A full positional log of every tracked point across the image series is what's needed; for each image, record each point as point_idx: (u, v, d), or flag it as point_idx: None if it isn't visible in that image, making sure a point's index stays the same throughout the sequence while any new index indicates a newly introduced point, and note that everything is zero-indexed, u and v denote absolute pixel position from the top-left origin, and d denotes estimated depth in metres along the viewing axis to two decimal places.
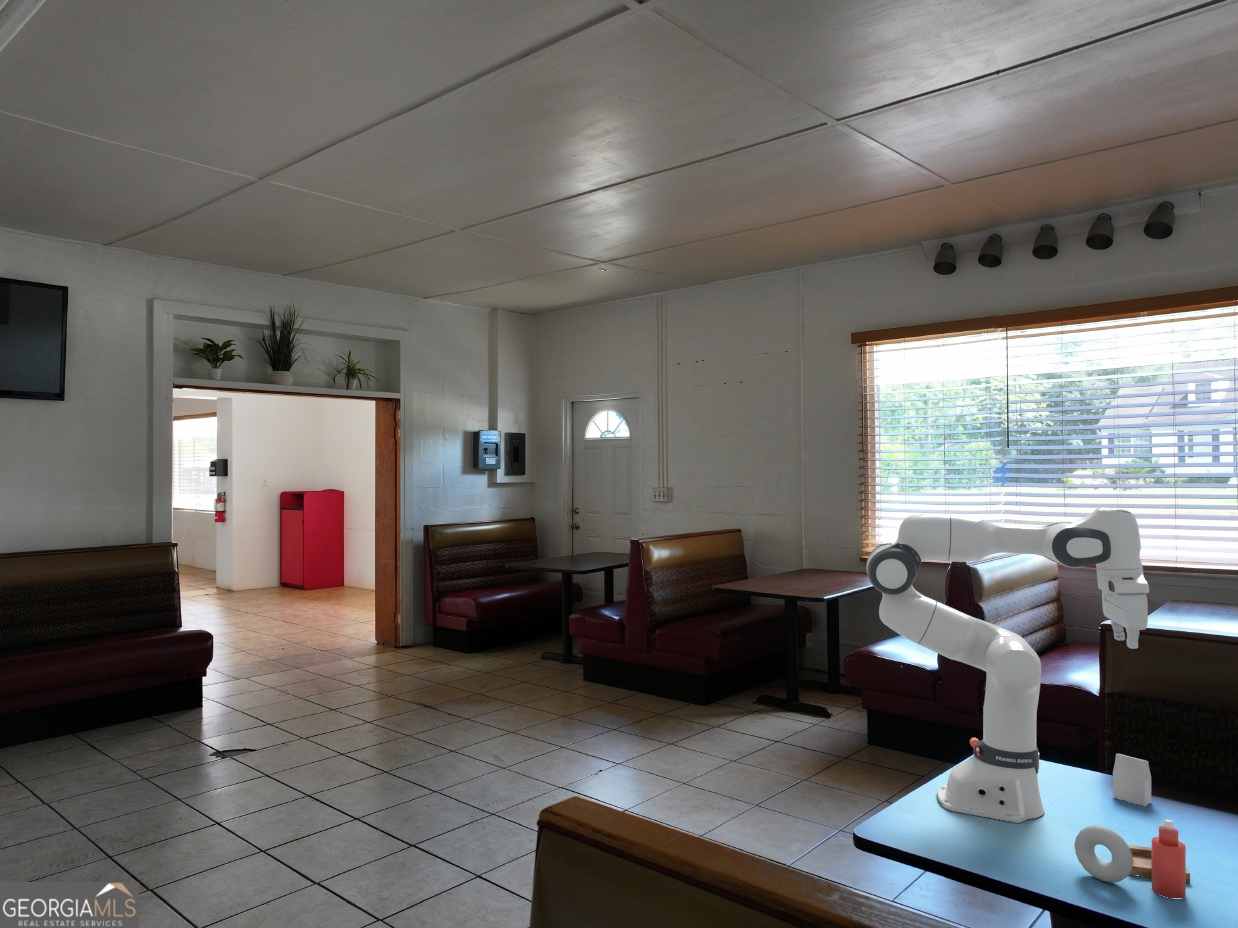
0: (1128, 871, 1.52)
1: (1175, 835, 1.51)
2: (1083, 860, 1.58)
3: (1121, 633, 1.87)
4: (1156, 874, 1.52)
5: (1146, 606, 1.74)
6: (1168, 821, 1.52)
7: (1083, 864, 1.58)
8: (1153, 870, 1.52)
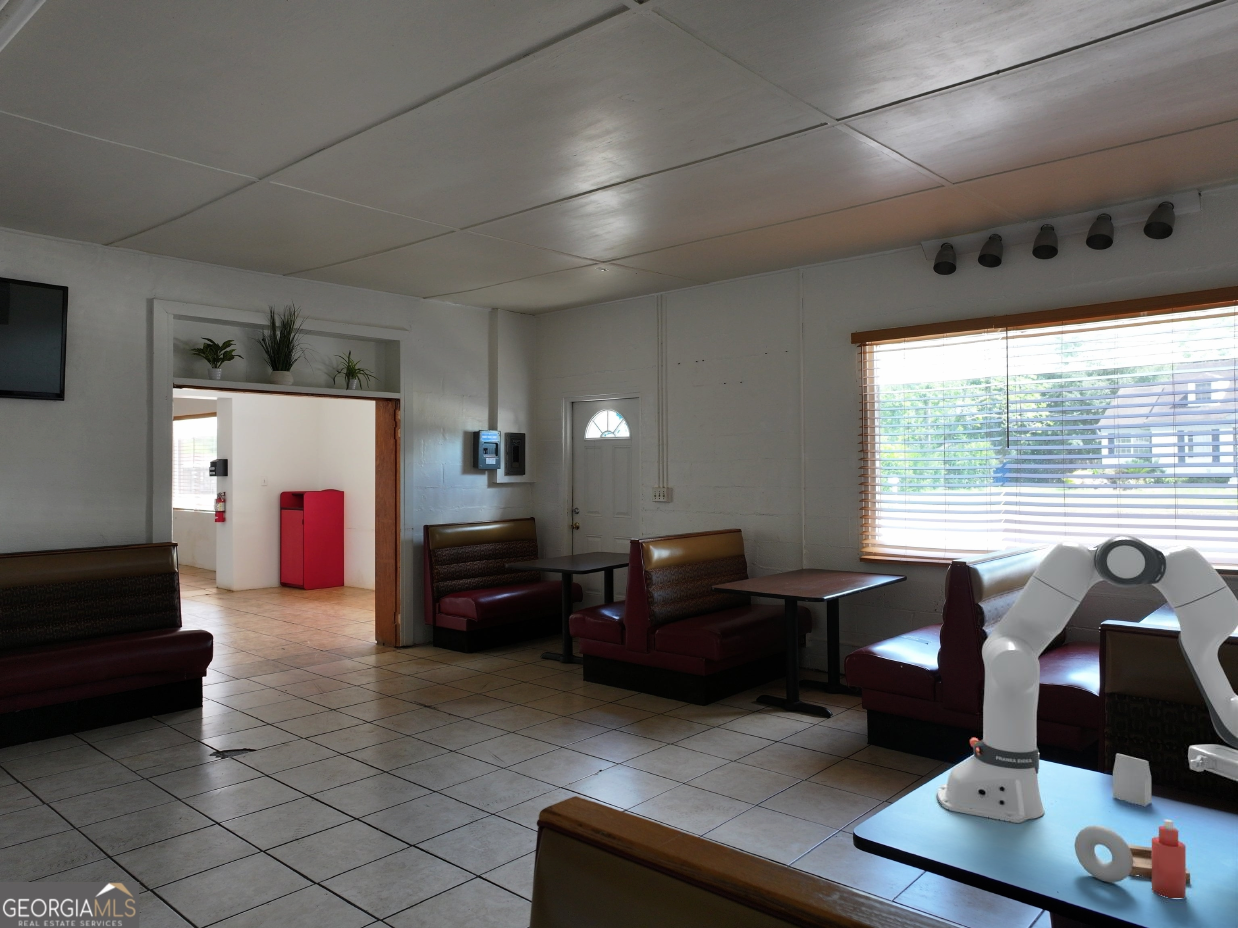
0: (1128, 871, 1.52)
1: (1175, 835, 1.51)
2: (1082, 860, 1.58)
3: (1202, 767, 1.60)
4: (1156, 874, 1.52)
5: None
6: (1168, 821, 1.52)
7: (1083, 864, 1.58)
8: (1153, 870, 1.52)
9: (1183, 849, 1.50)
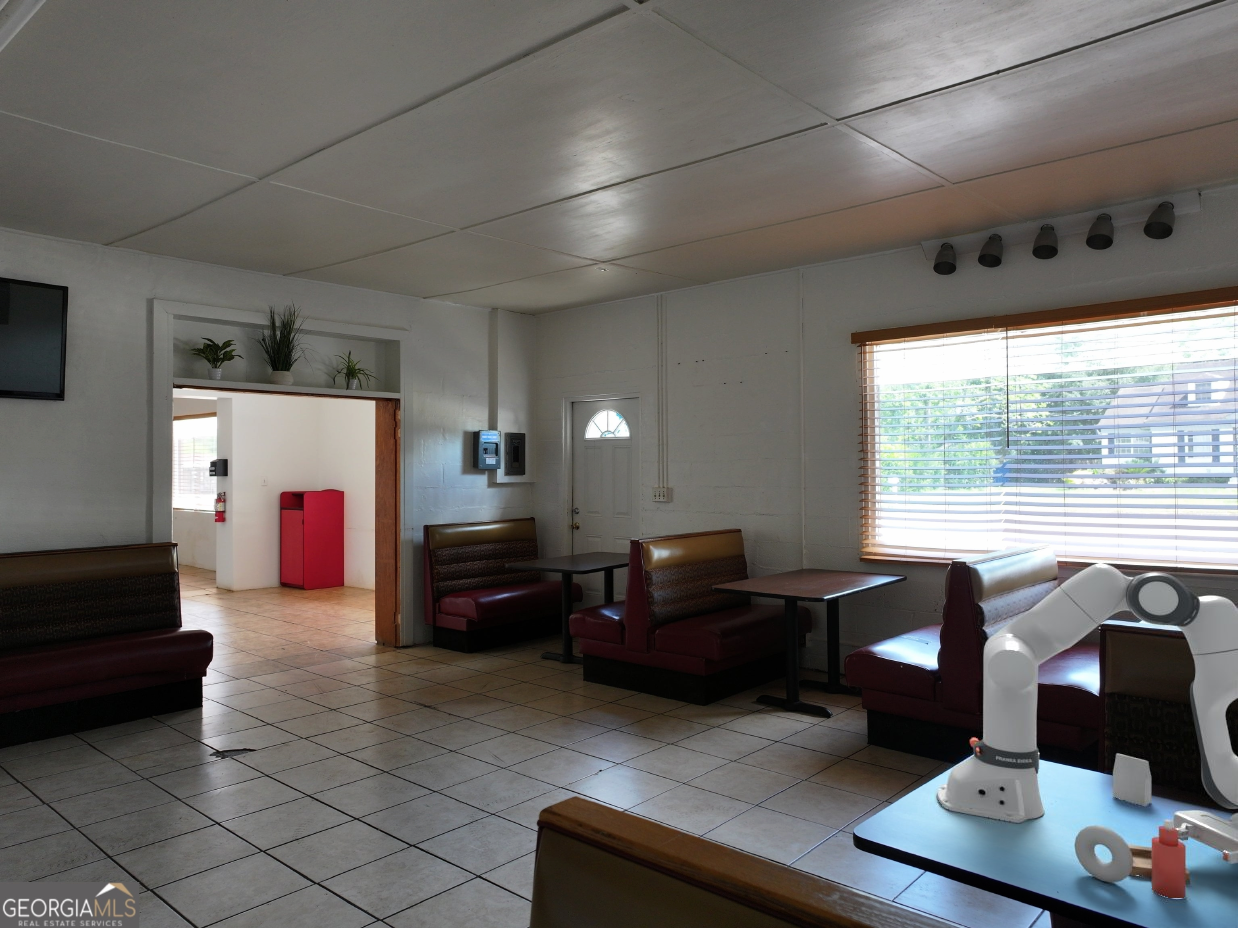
0: (1128, 871, 1.52)
1: (1175, 835, 1.51)
2: (1082, 860, 1.58)
3: (1187, 836, 1.59)
4: (1156, 874, 1.52)
5: None
6: (1168, 821, 1.52)
7: (1083, 864, 1.58)
8: (1153, 870, 1.52)
9: (1183, 849, 1.50)
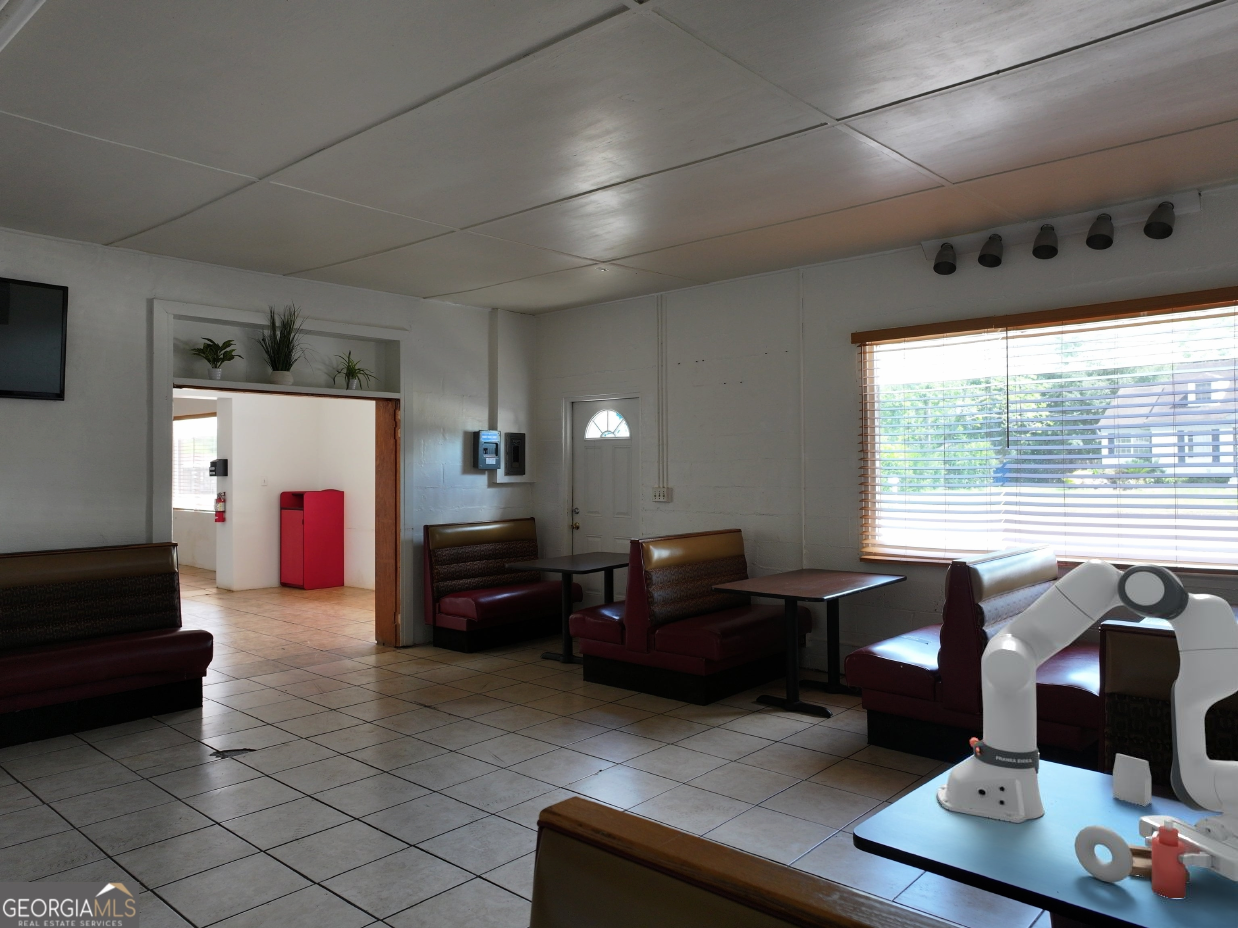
0: (1128, 871, 1.52)
1: (1175, 835, 1.51)
2: (1083, 860, 1.58)
3: None
4: (1156, 874, 1.52)
5: None
6: (1168, 821, 1.52)
7: (1083, 864, 1.58)
8: (1153, 870, 1.52)
9: (1183, 849, 1.50)
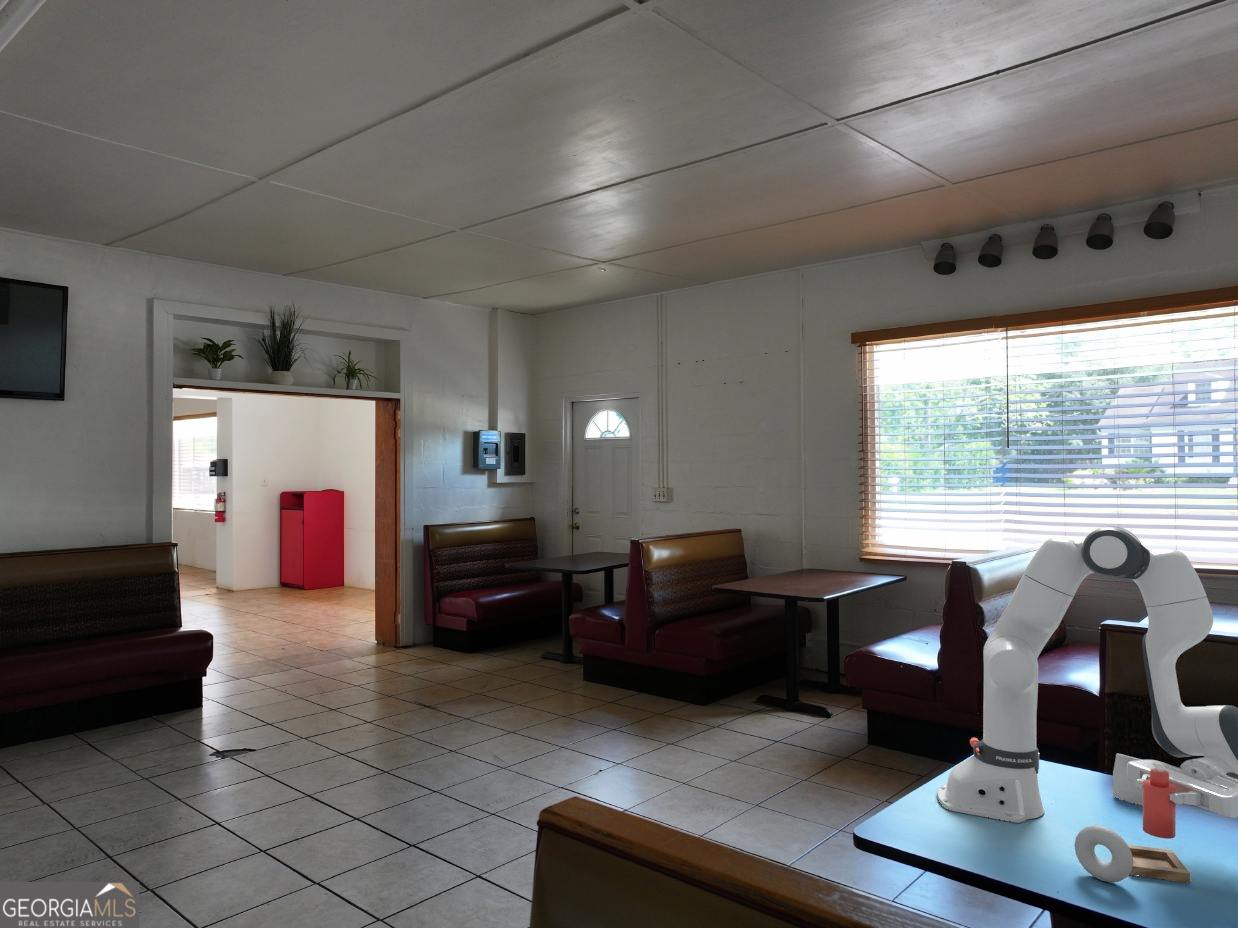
0: (1128, 871, 1.52)
1: (1166, 777, 1.56)
2: (1082, 860, 1.58)
3: None
4: (1148, 815, 1.56)
5: None
6: (1159, 763, 1.57)
7: (1083, 864, 1.58)
8: (1145, 811, 1.57)
9: (1174, 790, 1.55)
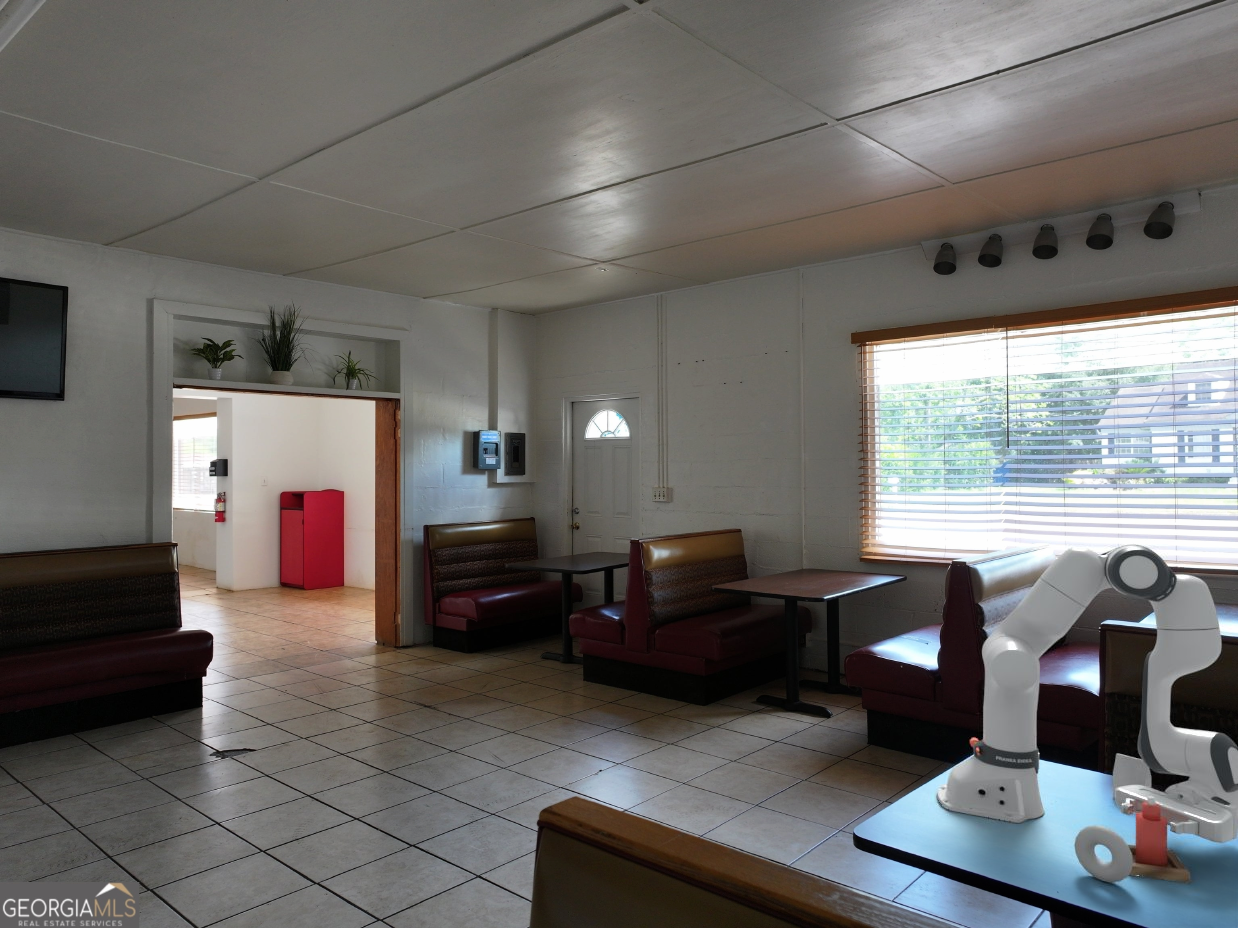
0: (1128, 871, 1.52)
1: (1158, 810, 1.60)
2: (1083, 860, 1.58)
3: (1132, 811, 1.66)
4: (1141, 848, 1.61)
5: (1230, 839, 1.57)
6: (1151, 797, 1.62)
7: (1083, 864, 1.58)
8: (1138, 844, 1.61)
9: (1166, 823, 1.60)
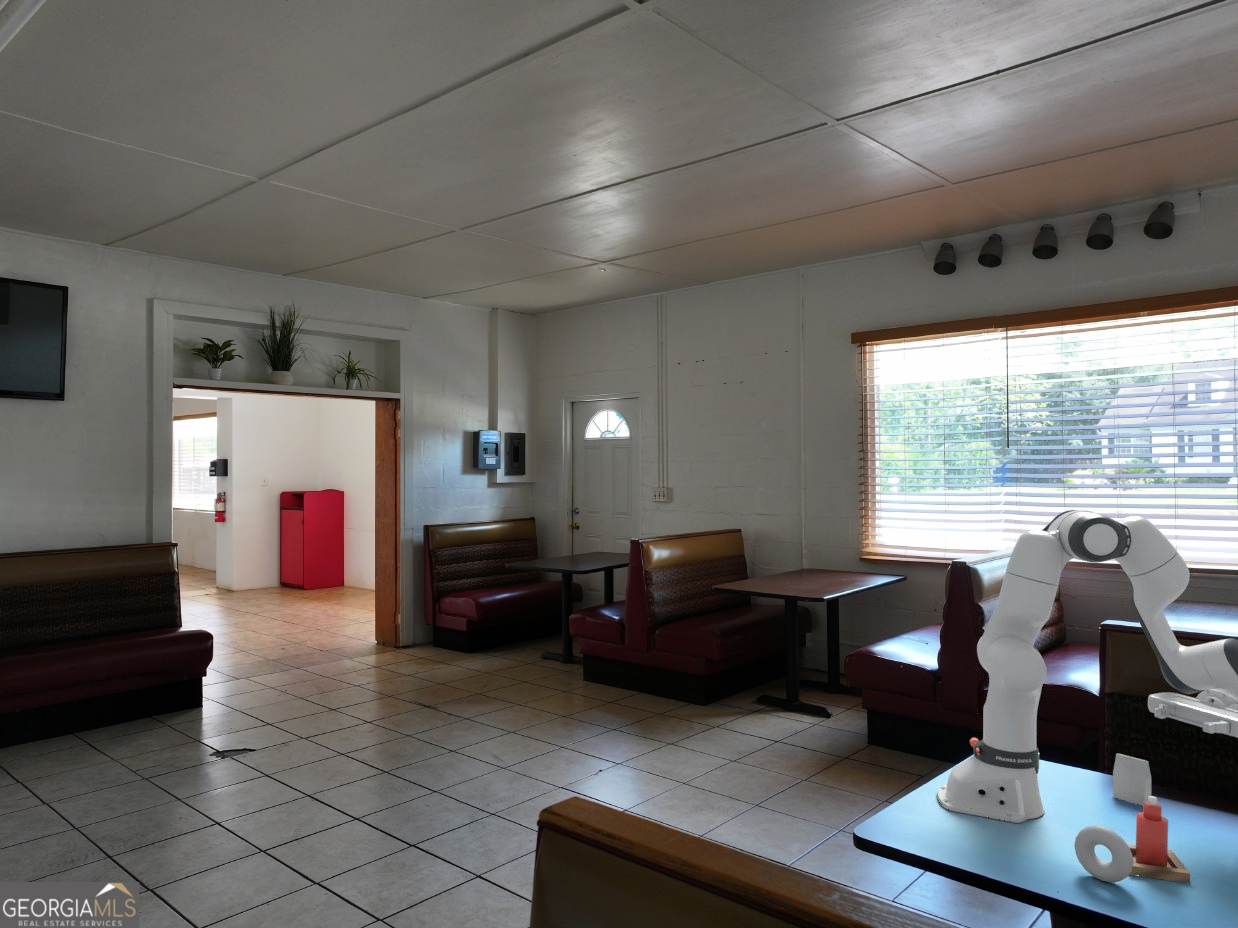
0: (1128, 871, 1.52)
1: (1159, 810, 1.60)
2: (1083, 860, 1.58)
3: (1165, 715, 1.74)
4: (1142, 848, 1.61)
5: None
6: (1152, 797, 1.61)
7: (1083, 864, 1.58)
8: (1139, 844, 1.61)
9: (1167, 823, 1.60)
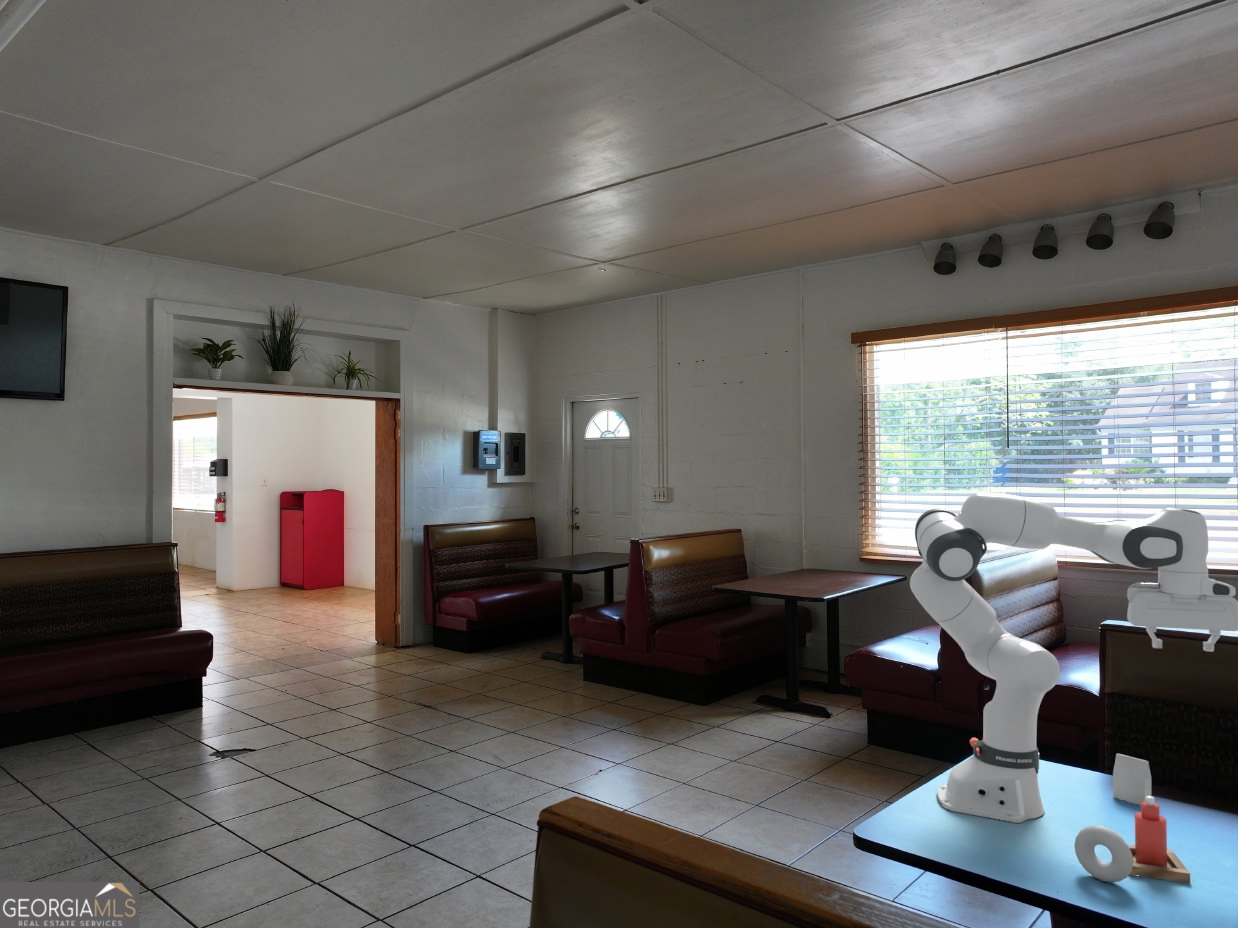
0: (1128, 871, 1.52)
1: (1157, 810, 1.60)
2: (1083, 860, 1.58)
3: None
4: (1142, 848, 1.61)
5: None
6: (1150, 797, 1.61)
7: (1083, 864, 1.58)
8: (1138, 845, 1.61)
9: (1165, 822, 1.60)
